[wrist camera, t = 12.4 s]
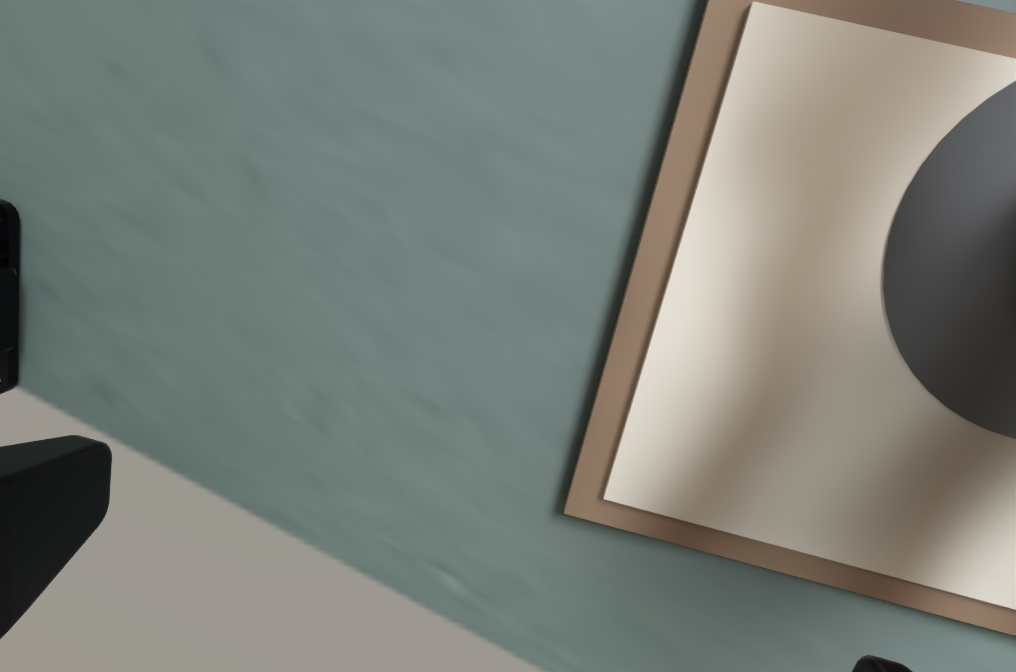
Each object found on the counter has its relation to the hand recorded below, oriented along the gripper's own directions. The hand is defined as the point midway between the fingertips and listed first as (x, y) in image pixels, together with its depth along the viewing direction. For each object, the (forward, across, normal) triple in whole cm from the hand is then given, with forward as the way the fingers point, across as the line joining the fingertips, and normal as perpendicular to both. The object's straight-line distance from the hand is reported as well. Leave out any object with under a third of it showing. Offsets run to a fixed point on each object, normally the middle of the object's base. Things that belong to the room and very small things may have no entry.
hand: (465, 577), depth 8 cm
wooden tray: (+13, -13, -2) cm, 18 cm away
